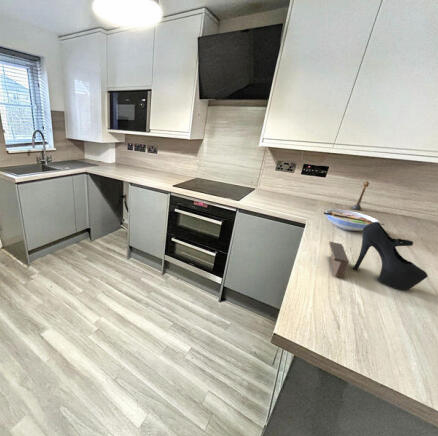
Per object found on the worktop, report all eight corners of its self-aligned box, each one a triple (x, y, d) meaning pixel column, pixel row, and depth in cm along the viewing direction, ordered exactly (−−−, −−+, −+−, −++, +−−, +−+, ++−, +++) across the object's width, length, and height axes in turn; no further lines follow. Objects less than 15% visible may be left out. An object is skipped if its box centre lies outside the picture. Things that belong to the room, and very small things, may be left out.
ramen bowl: (371, 227, 133) (377, 214, 130) (380, 242, 115) (387, 226, 112) (318, 217, 145) (322, 204, 142) (319, 228, 127) (324, 214, 124)
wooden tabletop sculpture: (361, 211, 162) (373, 182, 155) (352, 209, 164) (364, 181, 157) (359, 209, 167) (370, 181, 159) (351, 207, 169) (362, 180, 162)
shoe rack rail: (335, 259, 97) (341, 244, 94) (341, 278, 84) (349, 261, 81) (324, 256, 99) (329, 241, 96) (328, 274, 86) (334, 258, 83)
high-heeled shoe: (415, 298, 75) (447, 242, 68) (344, 269, 90) (364, 221, 82) (419, 289, 80) (449, 236, 73) (350, 263, 94) (370, 217, 87)
